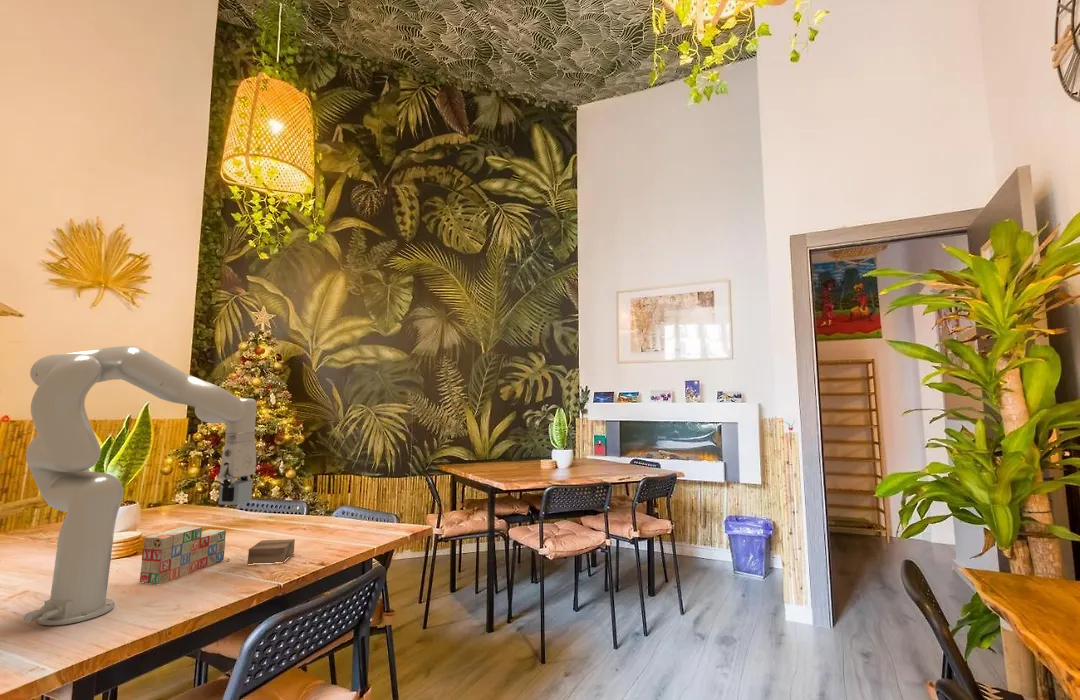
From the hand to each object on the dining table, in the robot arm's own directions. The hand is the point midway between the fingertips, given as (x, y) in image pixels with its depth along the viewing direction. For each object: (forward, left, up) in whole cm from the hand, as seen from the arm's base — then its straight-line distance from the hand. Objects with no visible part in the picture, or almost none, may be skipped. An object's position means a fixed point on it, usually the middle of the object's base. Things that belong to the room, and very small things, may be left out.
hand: (235, 498), depth 144 cm
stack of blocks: (-4, +11, -20) cm, 23 cm away
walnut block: (+9, -7, -20) cm, 23 cm away
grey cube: (0, 0, -1) cm, 1 cm away
